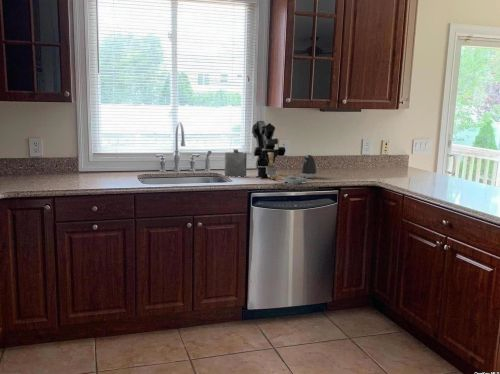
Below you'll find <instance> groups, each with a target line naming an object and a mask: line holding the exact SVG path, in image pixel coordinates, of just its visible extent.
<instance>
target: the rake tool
mask: <svg viewBox="0 0 500 374" xmlns="http://www.w3.org/2000/svg"><path fill="white" fill-rule="evenodd" d="M268 155H269V163H268V167H267V166H265V167H266V174H267V176H268V175H277V174H276V170H277V169H276V167H275V166H274V162H273V159H274V152H269V153H268Z"/></svg>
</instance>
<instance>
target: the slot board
mask: <svg viewBox="0 0 500 374" xmlns="http://www.w3.org/2000/svg"><path fill="white" fill-rule="evenodd" d="M284 177H294V176H293V175H290V174H285V173H278V174H274V175H270V176H269V179H270V178H272V179H276V180H275V181H277V180H281V178H284ZM272 179H271V180H272Z"/></svg>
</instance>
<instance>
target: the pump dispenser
mask: <svg viewBox="0 0 500 374" xmlns="http://www.w3.org/2000/svg"><path fill="white" fill-rule="evenodd" d="M303 158H304V159H303V162H302V165H301V175H302V178H304V177H307V178H306V179H314V178H316V176H317V173H318V167H317V162H316V160H315V157H314V156H313V155H312V154H308V155H306V156H303ZM313 177H314V178H313Z"/></svg>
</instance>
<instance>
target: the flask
mask: <svg viewBox="0 0 500 374" xmlns="http://www.w3.org/2000/svg"><path fill="white" fill-rule="evenodd" d="M225 176H246V177H247V152H243V151H239V149H236V148H235V149H233V151H231V152H230V151H229V152H228V151H227V152H226V151H225V152H224V177H225Z"/></svg>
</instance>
